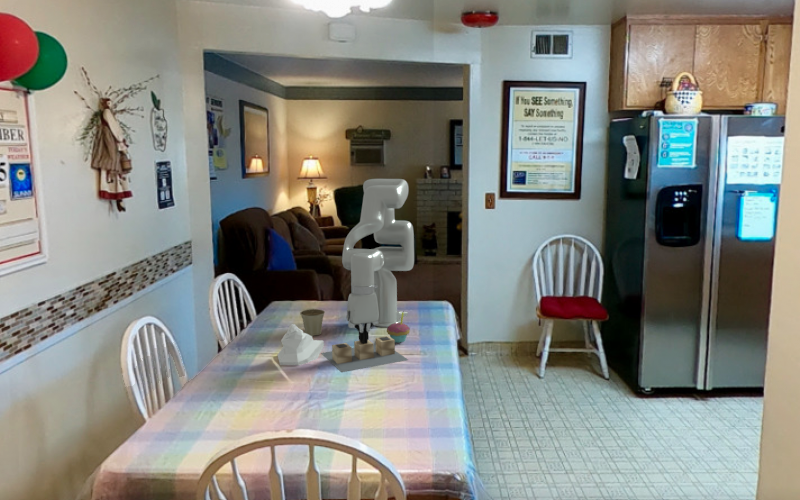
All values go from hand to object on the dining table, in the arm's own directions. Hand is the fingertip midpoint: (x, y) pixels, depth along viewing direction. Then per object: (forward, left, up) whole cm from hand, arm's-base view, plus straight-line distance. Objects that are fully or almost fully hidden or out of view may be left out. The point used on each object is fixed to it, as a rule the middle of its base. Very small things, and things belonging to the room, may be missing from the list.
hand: (363, 342), depth 199 cm
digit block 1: (+8, 0, -5) cm, 9 cm away
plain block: (0, 0, -5) cm, 5 cm away
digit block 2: (-8, 0, -5) cm, 10 cm away
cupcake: (-18, -10, -6) cm, 22 cm away
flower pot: (+7, -34, -6) cm, 35 cm away
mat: (0, 0, -6) cm, 6 cm away
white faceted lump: (+21, -8, -6) cm, 23 cm away
